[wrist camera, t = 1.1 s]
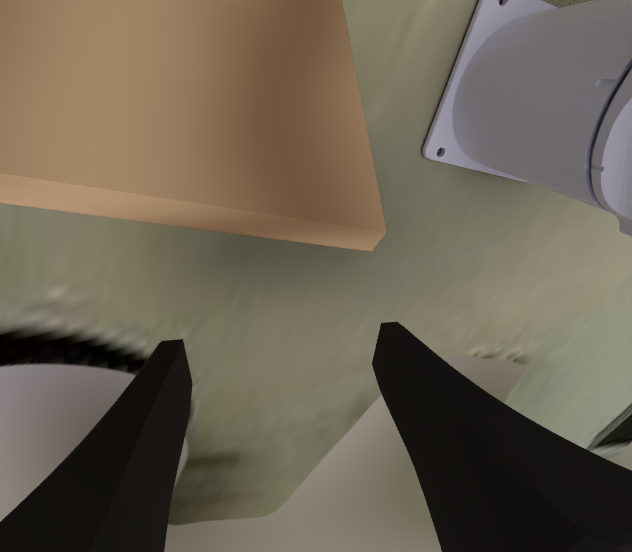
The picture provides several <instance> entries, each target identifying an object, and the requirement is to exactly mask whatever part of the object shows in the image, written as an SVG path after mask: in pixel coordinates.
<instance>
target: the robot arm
mask: <svg viewBox="0 0 632 552" xmlns="http://www.w3.org/2000/svg"><path fill="white" fill-rule="evenodd" d="M439 148H441V149H442V150H441V153H440V154H439V155H438V156H437V151H438V149H439ZM423 155H424V157H426V158H428V159H431V160H435V161H439V162H443V163H447V164H452V165H456V166H460V167H464V168H468V169H473V170H477V171H481V172H485V173H490V174H494V175H498V176H502V177H506V178H511V179H515V180H519V181H523V182H527V183H532V184H536V185H538V186H541V187H544V188H547V189H549V190H552V191H555V192H557V193H560V194H563V195H565V196H568V197H571V198H574V199H576V200H579V201H582V202H584V203H587V204H590V205H592V206H595V207H598V208H601V209H603V210H606V211H609V212H611V213H613V214H614V215H616V216H617V218H618V220H619V223H620V232H623V233H625V234H627V235H630V236H632V0H593V1H588V2H584V3H579V4H574V5H570V6H565V7H561V8H557V7H555V6H553V5H551V4H549V3H547V2H544V1H542V0H503V2H502V4H501V5H500V4H499V1H498V0H479V2H478V5H477V8H476V10H475V13H474V15H473V18H472V21H471V23H470V26H469V29H468V31H467V34H466V36H465V39H464V42H463V44H462V47H461V50H460V52H459V55H458V58H457V60H456V63H455V65H454V68H453V71H452V73H451V76H450V79H449V81H448V84H447V86H446V89H445V92H444V94H443V97H442V100H441V102H440V105H439V108H438V110H437V113H436V115H435V118H434V121H433V123H432V126H431V129H430V131H429V134H428V136H427V139H426V142H425V144H424V147H423ZM372 365H373V369H374V372H375V376H376V379H377V382H378V385H379V388H380V391H381V393H382V396H383V398H384V400H385V402H386V405H387V407H388V409H389V411H390V413H391V416H392V418H393V420H394V422H395V424H396V427H397V429H398V431H399V433H400V435H401V437H402V439H403V442H404V444H405V446H406V448H407V451H408V453H409V455H410V458H411V460H412V463H413V465H414V467H415V471H416V473H417V476H418V479H419V482H420V485H421V488H422V490H423V493H424V496H425V499H426V502H427V505H428V508H429V512H430V514H431V518H432V521H433V524H434V527H435V530H436V533H437V536H438V540H439V543H440V546H441V550H442V552H632V471H631V470H629V469H627V468H624V467H622V466H620V465H617V464H615V463H613V462H611V461H609V460H606V459H604V458H602V457H600V456H598V455H596V454H594V453H592V452H590V451H588V450H586V449H584V448H582V447H580V446H578V445H576V444H574V443H572V442H570V441H568V440H566V439H565V438H563V437H561V436H559V435H557V434H555V433H553V432H551V431H550V430H548V429H546V428H544V427H543V426H541V425H539V424H537V423H536V422H534V421H532V420H530V419H528V418H527V417H525V416H523V415H522V414H520V413H518V412H517V411H515V410H513V409H512V408H510V407H509V406H507V405H506V404H504V403H502V402H501V401H499V400H498V399H496V398H495V397H493V396H492V395H490V394H489V393H487V392H486V391H484V390H483V389H481V388H480V387H479V386H477V385H476V384H474V383H473V382H472V381H470V380H469V379H467V378H466V377H465V376H464V375H462V374H461V373H459V372H458V371H457V370H456V369H454V368H453V367H452V366H450V365H449V364H448V363H447V362H445V361H444V360H443V359H442V358H440V357H439V356H438V355H437V354H436V353H434V352H433V351H432V350H431V349H429V348H428V347H427V346H426V345H425V344H424V343H422V342H421V341H420V340H419V339H418V338H416V337H415V336H414V335H413V334H412V333H410V332H409V331H408V330H407V329H406V328H405V327H403V326H402V325H401V324H400V323H398V322H388V323H381V326H380V331H379V335H378V339H377V344H376V348H375V353H374V357H373V361H372ZM191 393H192V379H191V374H190V370H189V365H188V361H187V356H186V351H185V347H184V342H183V339H180V340H168V341H161V342H160V343H159V344H158V346H157V347H156V349H155V350H154V352H153V353H152V354H151V356H150V357H149V359H148V360H147V361H146V363H145V364H144V366H143V367H142V368H141V370H140V371H139V372H138V374H137V375H136V376H135V378H134V379H133V380H132V382H131V383H130V384H129V386H128V387H127V388H126V389H125V391H124V392H123V393H122V394H121V396H120V397H119V398H118V400H117V401H116V402H115V403H114V404H113V406H112V407H111V408H110V409H109V410H108V412H107V413H106V414H105V415H104V416H103V417H102V419H101V420H100V421H99V422H98V423H97V424H96V426H95V427H94V428H93V429H92V430H91V431H90V433H89V434H88V435H87V436H86V437H85V438H84V439H83V440H82V441H81V442H80V444H79V445H78V446H77V447H76V448H75V449H74V450H73V451H72V452H71V453H70V454H69V455H68V457H66V459H65V460H64V461H63V462H62V463H61V464H60V465H59V466H58V467H57V468H56V469H55V470H54V471H53V472H52V473H51V474H50V475H49V476H48V477H47V478H46V479H45V480H44V481H43V482H42V483H41V484H40V485H39V486H38V487H37V488H36V489H35V490H34V491H32V492H31V493H30V494H29V495H28V496H27V497H26V498H25V499H24V500H23V501H22V502H21V503H20V504H19V505H18V506H17V507H16V508H15V509H14V510H13V511H12V512H10V513H9V514H8V515H7V516H6V517H5V518H4V519H3V520H2V521H1V522H0V552H164V548H165V540H166V532H167V525H168V517H169V509H170V504H171V498H172V493H173V488H174V483H175V479H176V474H177V470H178V464H179V460H180V456H181V451H182V447H183V442H184V438H185V433H186V428H187V424H188V419H189V413H190V404H191Z"/></svg>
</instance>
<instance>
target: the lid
mask: <svg viewBox="0 0 632 552" xmlns="http://www.w3.org/2000/svg"><path fill="white" fill-rule="evenodd" d="M0 203H6V204H14V205H22V206H29V207H37V208H44V209H52V210H60V211H67V212H75V213H83V214H90V215H98V216H105V217H113V218H121V219H128V220H136V221H143V222H151V223H159V224H166V225H174V226H181V227H189V228H197V229H204V230H212V231H219V232H227V233H235V234H242V235H250V236H257V237H265V238H273V239H280V240H288V241H295V242H303V243H311V244H318V245H326V246H333V247H341V248H349V249H356V250H364V251H372V250H373V249H374V248H375V246H376V245H377V244H378V243H379V242H380V240H381V239H382V238H383V237H384V236H385V234H386V233H387V229H386V224H385V219H384V214H383V209H382V203H381V198H380V193H379V188H378V183H377V178H376V173H375V167H374V162H373V157H372V152H371V147H370V142H369V136H368V131H367V126H366V121H365V116H364V111H363V106H362V100H361V95H360V90H359V85H358V80H357V75H356V70H355V64H354V59H353V54H352V49H351V44H350V39H349V34H348V28H347V23H346V18H345V13H344V8H343V3H342V0H0Z"/></svg>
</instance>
